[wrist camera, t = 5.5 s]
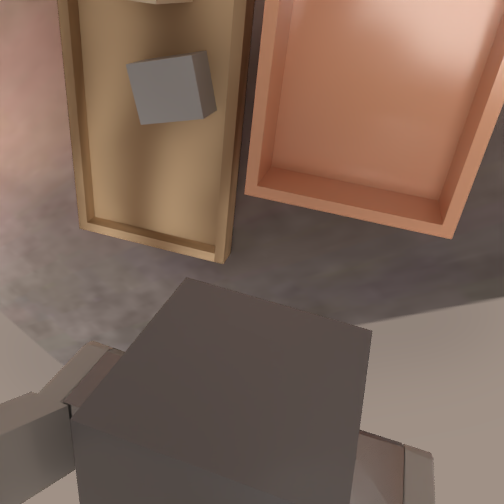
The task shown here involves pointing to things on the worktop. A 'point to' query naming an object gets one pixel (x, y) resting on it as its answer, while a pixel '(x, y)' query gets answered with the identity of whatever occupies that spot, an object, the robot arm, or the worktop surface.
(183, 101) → the light grey block
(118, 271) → the worktop surface
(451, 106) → the terracotta dish
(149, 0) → the beige cube
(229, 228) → the oak tray
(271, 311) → the charcoal cube
